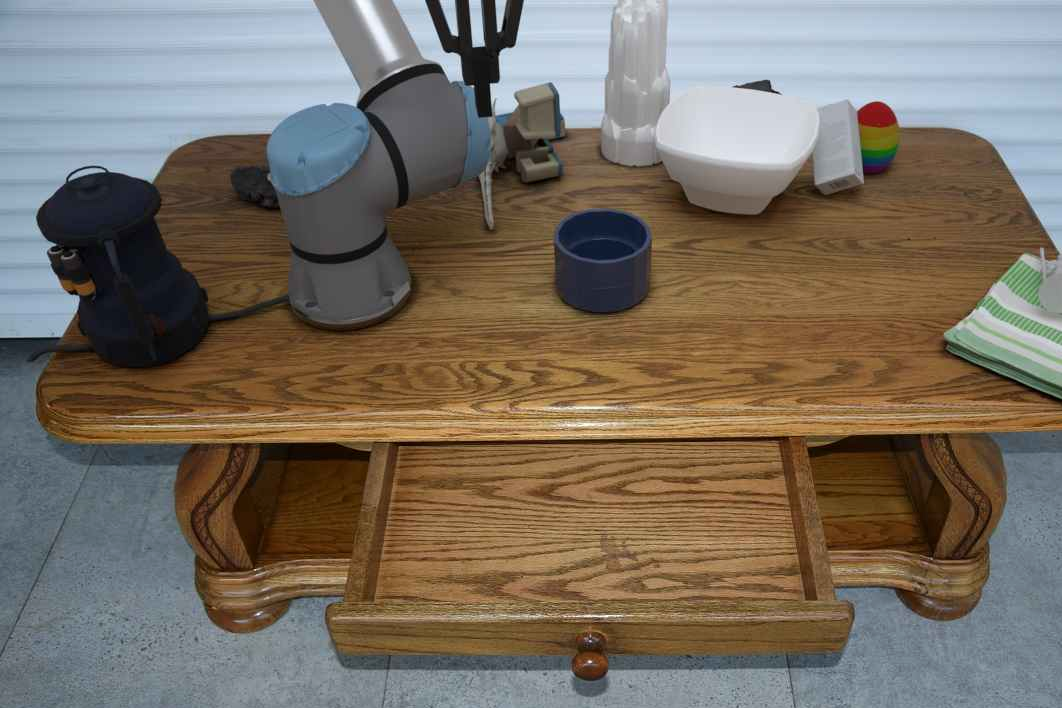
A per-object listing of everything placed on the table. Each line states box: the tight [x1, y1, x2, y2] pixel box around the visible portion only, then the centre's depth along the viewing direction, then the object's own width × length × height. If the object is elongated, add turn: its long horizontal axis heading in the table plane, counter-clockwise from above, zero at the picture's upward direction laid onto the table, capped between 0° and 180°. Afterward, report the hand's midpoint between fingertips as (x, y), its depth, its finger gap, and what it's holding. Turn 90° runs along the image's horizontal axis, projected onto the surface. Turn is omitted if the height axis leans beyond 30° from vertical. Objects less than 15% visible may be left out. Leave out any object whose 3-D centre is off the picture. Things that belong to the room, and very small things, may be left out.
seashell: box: [478, 97, 509, 231], centre depth 136 cm, size 10×9×25 cm
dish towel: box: [942, 252, 1062, 400], centre depth 113 cm, size 18×23×3 cm
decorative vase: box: [600, 0, 671, 167], centre depth 139 cm, size 11×11×25 cm
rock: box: [229, 163, 280, 209], centre depth 135 cm, size 12×8×10 cm
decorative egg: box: [856, 100, 901, 174], centre depth 140 cm, size 8×8×10 cm
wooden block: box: [503, 104, 539, 150], centre depth 140 cm, size 4×4×8 cm
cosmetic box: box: [811, 98, 865, 196], centre depth 136 cm, size 6×4×12 cm
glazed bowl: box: [552, 207, 653, 313], centre depth 119 cm, size 12×12×8 cm
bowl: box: [653, 85, 820, 216], centre depth 133 cm, size 22×22×12 cm
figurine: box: [1038, 246, 1062, 313], centre depth 116 cm, size 5×5×12 cm
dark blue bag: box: [35, 165, 210, 368], centre depth 106 cm, size 15×21×20 cm
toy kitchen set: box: [495, 81, 566, 183], centre depth 141 cm, size 18×14×11 cm
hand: (483, 110), depth 101 cm, fingers closed
